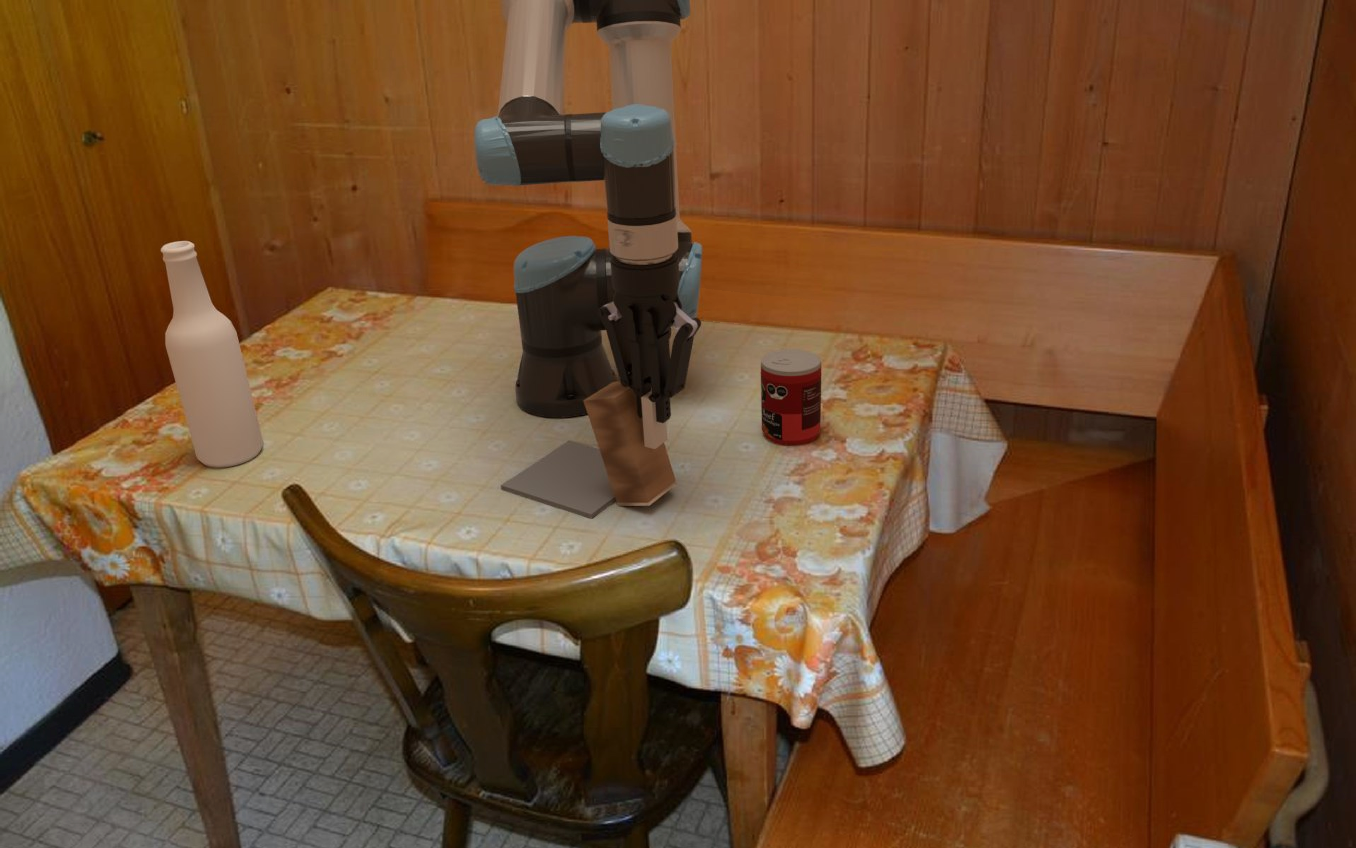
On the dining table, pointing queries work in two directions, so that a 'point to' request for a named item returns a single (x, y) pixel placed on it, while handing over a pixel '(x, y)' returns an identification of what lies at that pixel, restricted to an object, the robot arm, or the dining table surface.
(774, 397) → the canned food
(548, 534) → the dining table surface
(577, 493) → the mat
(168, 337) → the alcohol
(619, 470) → the walnut block
